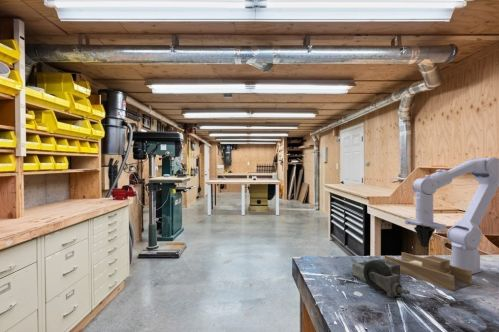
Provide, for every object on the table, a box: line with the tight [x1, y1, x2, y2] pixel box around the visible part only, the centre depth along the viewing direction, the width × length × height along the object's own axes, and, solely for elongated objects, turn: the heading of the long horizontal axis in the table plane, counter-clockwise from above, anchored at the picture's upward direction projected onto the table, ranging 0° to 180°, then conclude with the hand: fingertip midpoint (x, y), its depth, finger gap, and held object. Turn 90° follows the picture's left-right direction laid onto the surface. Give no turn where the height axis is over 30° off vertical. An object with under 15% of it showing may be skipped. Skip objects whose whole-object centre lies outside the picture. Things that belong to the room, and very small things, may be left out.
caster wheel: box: [363, 259, 410, 298], centre depth 92 cm, size 6×10×15 cm
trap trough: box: [384, 252, 473, 292], centre depth 107 cm, size 11×25×4 cm, turn 27°
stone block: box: [351, 258, 401, 284], centre depth 106 cm, size 9×14×5 cm, turn 106°
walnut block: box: [422, 255, 451, 273], centre depth 103 cm, size 6×6×4 cm
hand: (424, 246), depth 111 cm, fingers closed
